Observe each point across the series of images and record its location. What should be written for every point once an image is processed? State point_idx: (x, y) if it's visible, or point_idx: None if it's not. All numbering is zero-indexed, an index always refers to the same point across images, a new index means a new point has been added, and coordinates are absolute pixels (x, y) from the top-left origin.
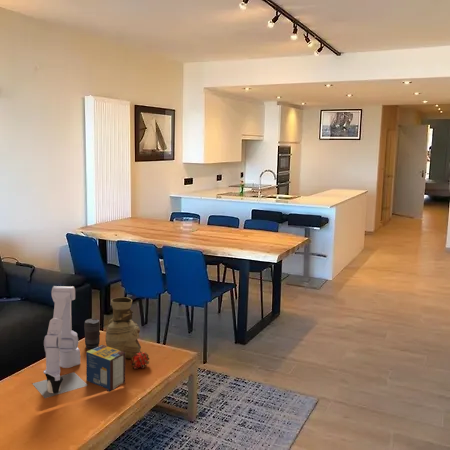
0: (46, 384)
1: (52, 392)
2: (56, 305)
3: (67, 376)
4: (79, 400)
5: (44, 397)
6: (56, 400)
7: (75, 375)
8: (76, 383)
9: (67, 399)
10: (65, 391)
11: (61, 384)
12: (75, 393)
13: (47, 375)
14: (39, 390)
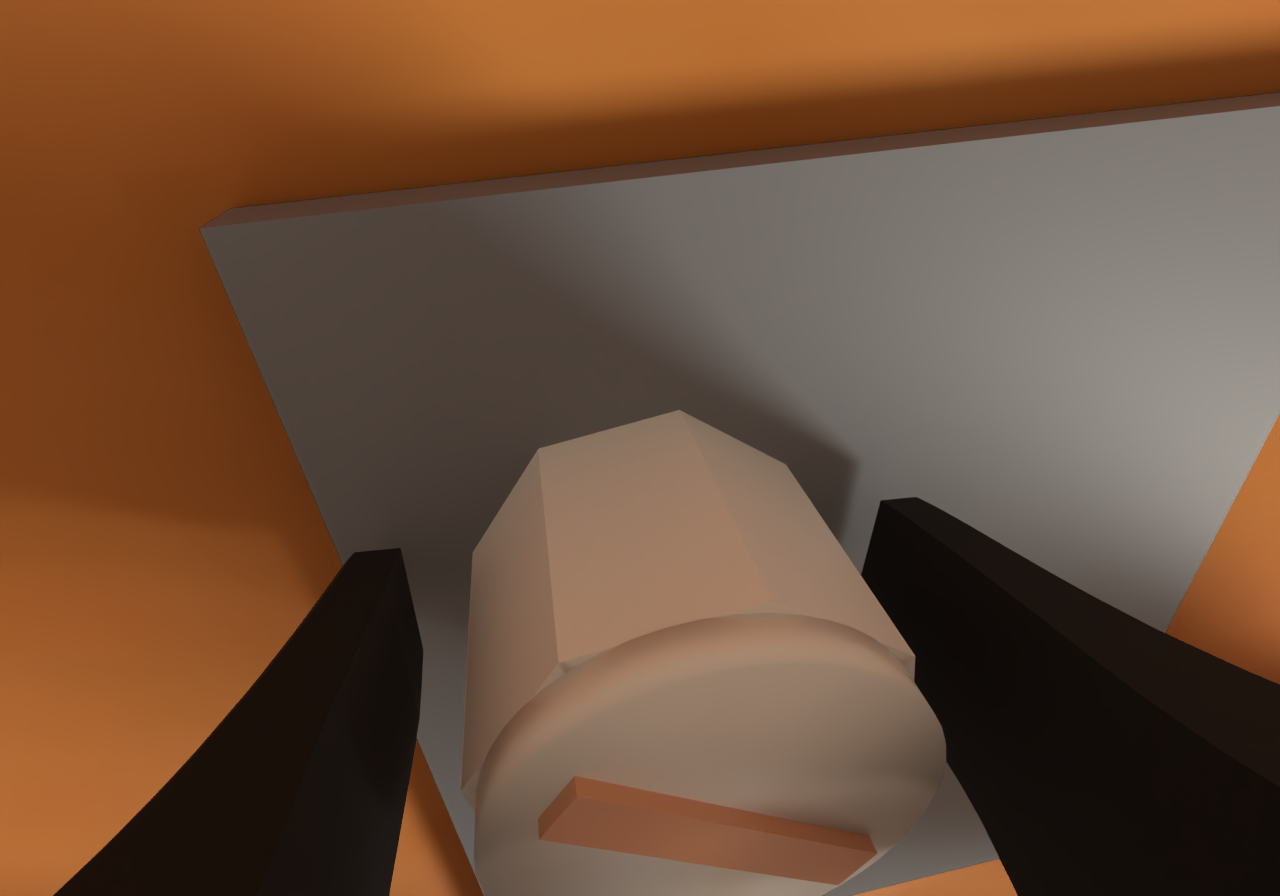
0: (1048, 446)
1: (503, 518)
2: None
3: None
4: (39, 865)
5: (276, 235)
6: (143, 512)
7: (946, 857)
8: None
9: (142, 711)
10: (448, 744)
11: None
12: None
13: (1221, 815)
14: (880, 193)
